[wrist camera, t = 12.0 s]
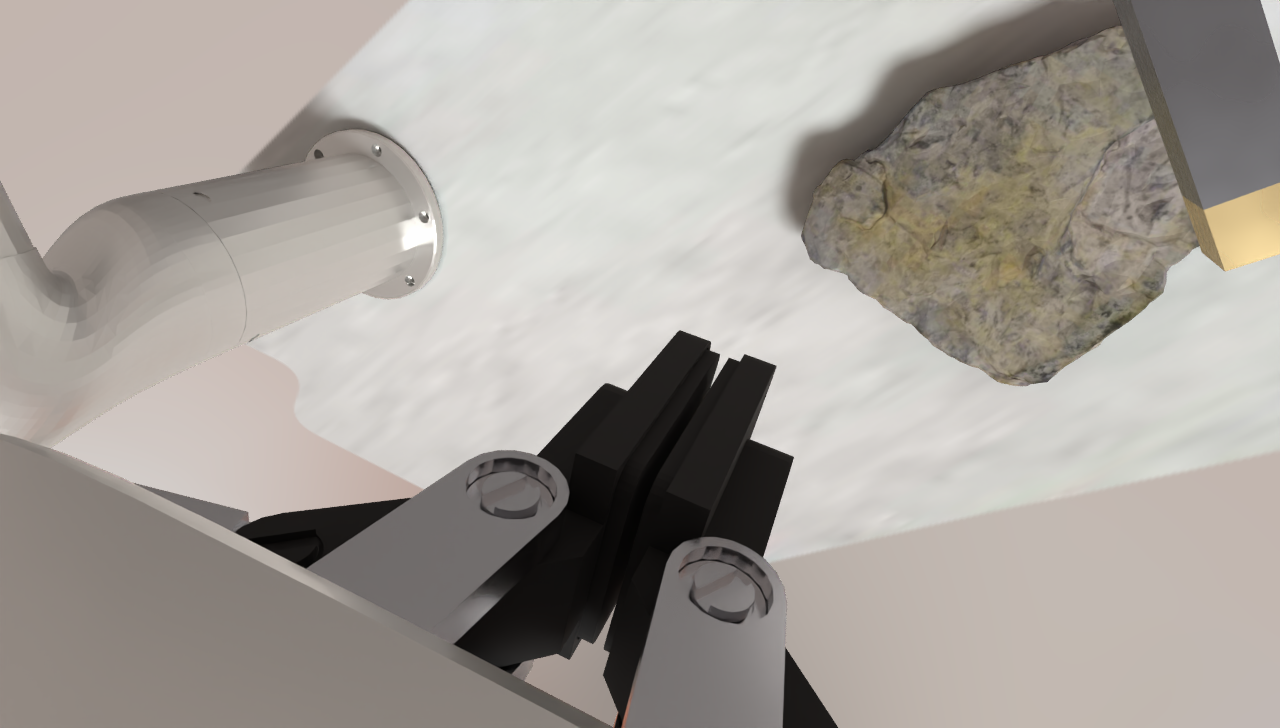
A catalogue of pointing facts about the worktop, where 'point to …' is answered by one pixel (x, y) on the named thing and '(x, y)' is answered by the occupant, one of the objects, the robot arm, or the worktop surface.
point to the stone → (1013, 212)
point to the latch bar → (1215, 116)
